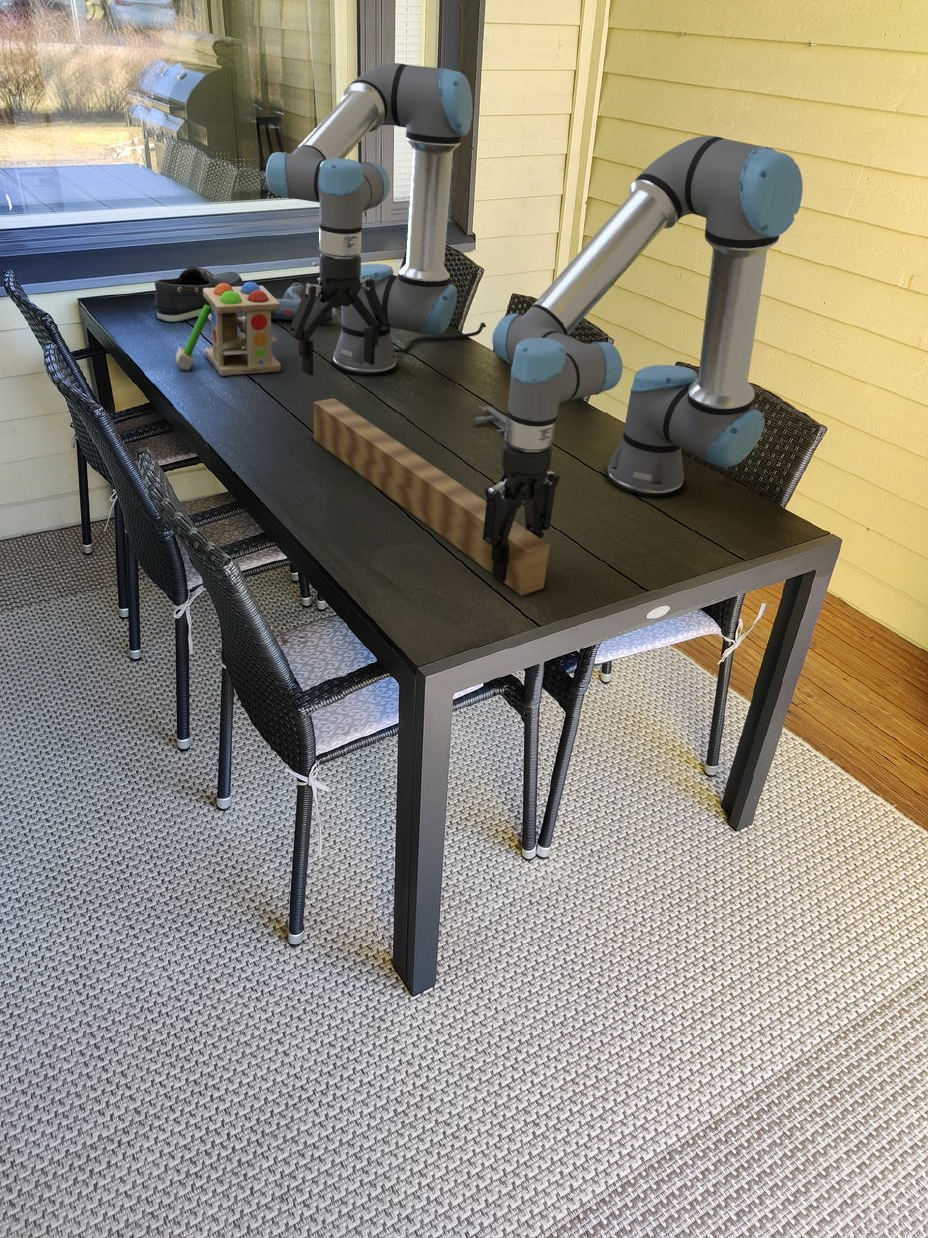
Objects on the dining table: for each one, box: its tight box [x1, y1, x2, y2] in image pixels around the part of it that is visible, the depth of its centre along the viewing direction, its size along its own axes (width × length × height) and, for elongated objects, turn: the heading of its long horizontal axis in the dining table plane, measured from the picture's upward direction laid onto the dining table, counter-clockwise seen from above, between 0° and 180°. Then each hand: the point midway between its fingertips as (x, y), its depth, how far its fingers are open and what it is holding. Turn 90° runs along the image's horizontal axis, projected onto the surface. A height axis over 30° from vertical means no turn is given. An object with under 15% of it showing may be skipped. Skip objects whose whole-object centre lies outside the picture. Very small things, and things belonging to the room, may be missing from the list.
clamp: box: [474, 405, 507, 434], centre depth 212 cm, size 15×2×10 cm
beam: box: [313, 397, 551, 597], centre depth 178 cm, size 67×5×8 cm, turn 37°
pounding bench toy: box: [174, 281, 282, 377], centre depth 225 cm, size 23×14×18 cm, turn 116°
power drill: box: [271, 282, 338, 322], centre depth 265 cm, size 5×19×20 cm
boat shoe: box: [153, 265, 244, 323], centre depth 262 cm, size 13×33×10 cm, turn 147°
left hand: (339, 367), depth 189 cm, fingers open, 13 cm apart
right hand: (511, 572), depth 162 cm, fingers closed on beam, 5 cm apart
